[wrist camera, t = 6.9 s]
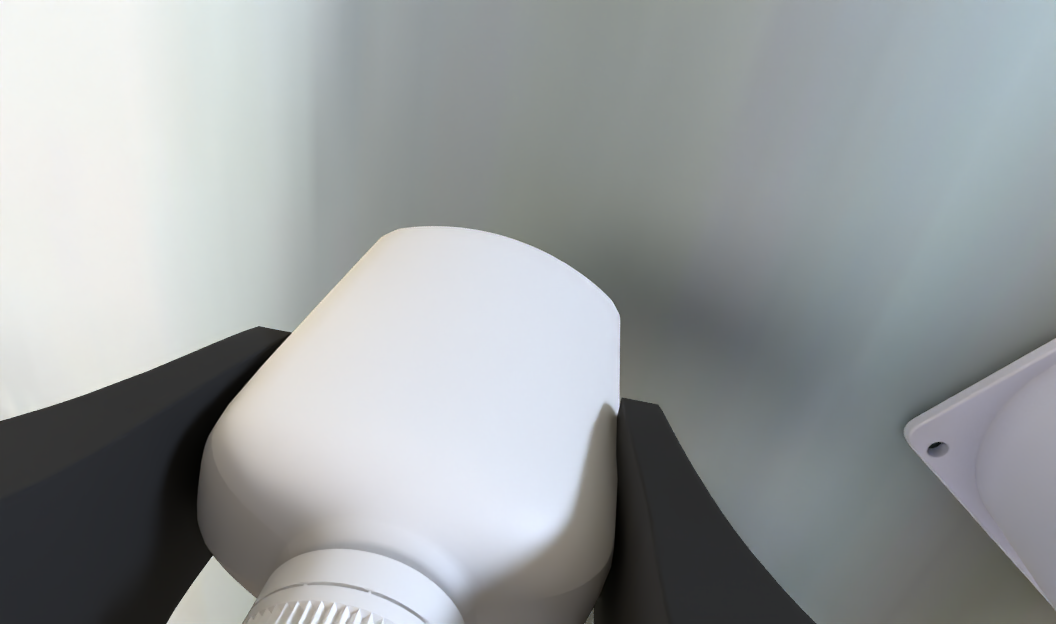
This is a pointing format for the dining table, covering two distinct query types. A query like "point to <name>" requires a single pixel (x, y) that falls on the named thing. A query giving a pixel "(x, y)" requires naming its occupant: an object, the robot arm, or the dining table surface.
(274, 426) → the eye dropper bottle
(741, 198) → the dining table surface
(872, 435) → the dining table surface
